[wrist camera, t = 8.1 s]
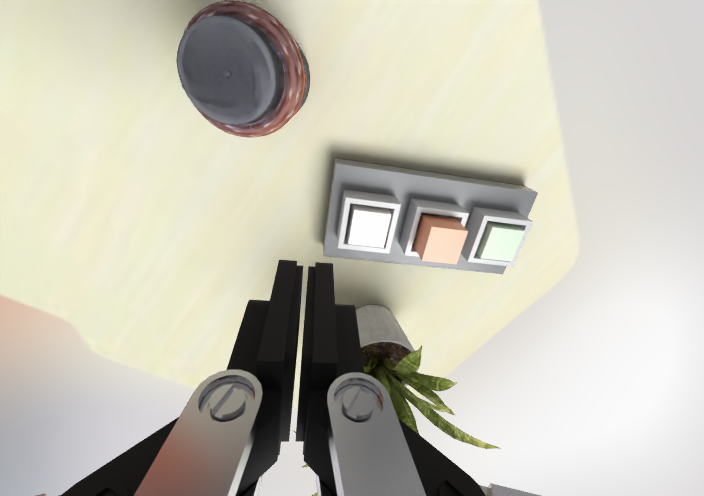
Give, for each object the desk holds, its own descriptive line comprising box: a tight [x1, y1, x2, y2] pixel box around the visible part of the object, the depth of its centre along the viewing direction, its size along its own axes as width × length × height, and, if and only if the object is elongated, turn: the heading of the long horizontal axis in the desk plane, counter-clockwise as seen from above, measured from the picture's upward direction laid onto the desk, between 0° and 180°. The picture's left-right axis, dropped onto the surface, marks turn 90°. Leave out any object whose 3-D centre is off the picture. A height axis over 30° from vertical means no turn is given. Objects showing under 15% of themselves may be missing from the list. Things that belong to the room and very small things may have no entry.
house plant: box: [294, 305, 498, 496], centre depth 27 cm, size 14×14×16 cm
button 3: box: [476, 221, 525, 262], centre depth 27 cm, size 3×3×2 cm
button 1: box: [346, 203, 391, 248], centre depth 26 cm, size 3×3×2 cm
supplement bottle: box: [177, 0, 310, 137], centre depth 18 cm, size 6×6×11 cm
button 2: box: [413, 214, 468, 264], centre depth 25 cm, size 3×3×2 cm
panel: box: [323, 158, 538, 274], centre depth 27 cm, size 8×17×4 cm, turn 81°
